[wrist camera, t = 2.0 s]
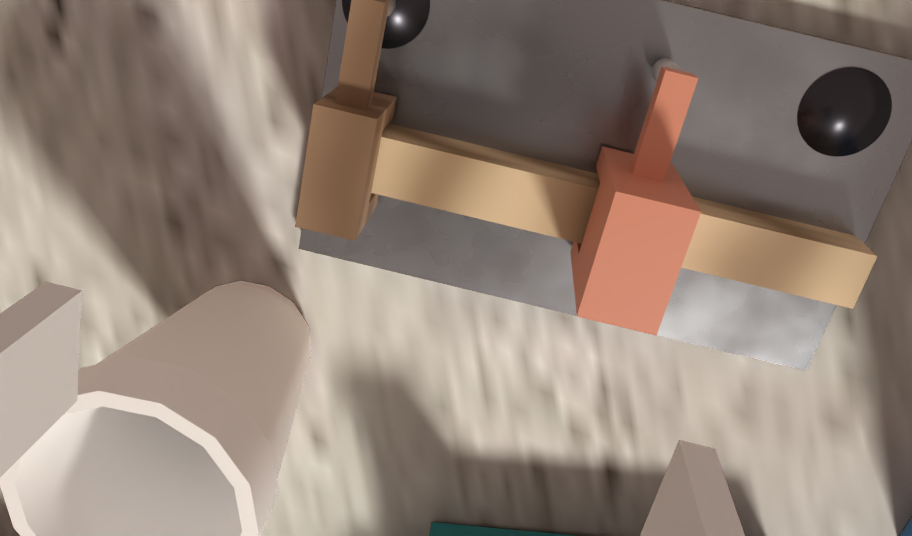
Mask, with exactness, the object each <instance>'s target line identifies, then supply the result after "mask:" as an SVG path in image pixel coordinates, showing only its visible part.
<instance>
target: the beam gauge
mask: <svg viewBox="0 0 912 536" xmlns="http://www.w3.org/2000/svg"><path fill="white" fill-rule="evenodd" d="M395 8H396V0H351V6H350V12H349V19H348V25H347V31H346V38H345V44H344V50H343V56H342V63H341V69H340V75H339V82H338V87H336V88H335V89H333V90H332V91H331V92H329V93H328V94H326V95H325V96H324V97H322V98H321V99H320V100H318V101H317V102H315V103H314V104H313V110H312V117H311V123H310V130H309V137H308V144H307V150H306V157H305V164H304V171H303V177H302V184H301V191H300V198H299V205H298V211H297V218H296V225H295V227H299V228H303V229H307V230H312V231H316V232H320V233H324V234H328V235H332V236H337V237H341V238H345V239H349V240H353V241H355V240H356V239H357V237H358V235H359V234H360V232H361V230H362V229H363V227H364V225H365V224H366V222H367V221H368V219H369V217H370V216H371V214H372V212H373V211H374V209H375V208H376V206H377V201H378V196H379V195H382V196H386V197H391V198H395V199H399V200H403V201H407V202H411V203H415V204H420V205H424V206H428V207H432V208H436V209H440V210H444V211H449V212H453V213H457V214H461V215H465V216H469V217H474V218H478V219H482V220H486V221H490V222H494V223H498V224H503V225H507V226H511V227H515V228H519V229H523V230H527V231H532V232H536V233H540V234H544V235H548V236H552V237H557V238H561V239H565V240H569V241H573V242H577V243H581V244H582V241H583V238H584V235H585V232H586V228H587V225H588V222H589V218H590V215H591V212H592V209H593V205H594V202H595V199H596V195H597V192H598V189H599V185H600V181H599V177H598V174H597V173H593V172H589V171H584V170H580V169H576V168H572V167H568V166H564V165H560V164H555V163H551V162H547V161H543V160H539V159H535V158H530V157H526V156H522V155H518V154H514V153H510V152H505V151H501V150H497V149H493V148H489V147H485V146H481V145H476V144H472V143H468V142H464V141H460V140H456V139H451V138H447V137H443V136H439V135H435V134H431V133H426V132H422V131H418V130H414V129H410V128H406V127H402V126H397V125H393V124H389V123H390V121H391V120H392V119H393V117H394V111H395V106H396V101H397V97H395V96H391V95H386V94H382V93H378V92H374V87H375V81H376V76H377V70H378V64H379V59H380V53H381V47H382V42H383V36H384V30H385V25H386V19H387V16H389V15H391V14H392V13H393V12H394V10H395ZM692 197H693V196H692ZM693 199H694V201H695V202H696V204H697V206H698V207H699V209H700V211H701V214H700V217H699V220H698V222H697V225H696V228H695V231H694V233H693V236H692V239H691V242H690V244H689V247H688V250H687V253H686V255H685V258H684V261H683V264H682V267H681V268H685V269H689V270H693V271H698V272H702V273H706V274H710V275H714V276H718V277H723V278H727V279H731V280H735V281H739V282H743V283H747V284H752V285H756V286H760V287H764V288H768V289H772V290H776V291H781V292H785V293H789V294H793V295H797V296H801V297H806V298H810V299H814V300H818V301H822V302H826V303H830V304H835V305H839V306H843V307H847V308H851V309H853V308H854V306H855V304H856V302H857V299H858V297H859V295H860V293H861V291H862V289H863V287H864V284H865V282H866V280H867V278H868V276H869V274H870V272H871V269H872V267H873V265H874V263H875V261H876V259H877V257H878V256H877V255H876V254H875V253H874V252H873V251H871V250H870V249H869V248H868V247H867V246H866V245H865V244H864V243H863V242H862V241H861V240H860V239H859V238H858V237H856V236H855V235H851V234H846V233H842V232H838V231H834V230H830V229H826V228H821V227H817V226H813V225H809V224H805V223H801V222H796V221H792V220H788V219H784V218H780V217H776V216H772V215H767V214H763V213H759V212H755V211H751V210H747V209H742V208H738V207H734V206H730V205H726V204H722V203H717V202H713V201H709V200H705V199H701V198H697V197H693Z"/></svg>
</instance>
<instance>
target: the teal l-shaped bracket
mask: <svg viewBox="0 0 912 536" xmlns="http://www.w3.org/2000/svg"><path fill="white" fill-rule="evenodd" d="M429 536H575V535H564V534H554V533H543V532H532V531H521V530H511V529H500V528H489V527H479V526H468V525H457V524H447V523H436V522H432V523H431V529H430V535H429Z"/></svg>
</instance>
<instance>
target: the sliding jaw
mask: <svg viewBox="0 0 912 536" xmlns="http://www.w3.org/2000/svg"><path fill="white" fill-rule="evenodd" d="M652 76H653V78H654V80H655V81H656V82H657V83H656V86H655V89H654V92H653V95H652V98H651V102H650V105H649V108H648V111H647V114H646V117H645V121H644V124H643V127H642V130H641V133H640V136H639V140H638V143H637V146H636V149H635V152H634V154H632V153H628V152H624V151H619V150H615V149H611V148H607V147H603V146H602V148H601V152H600V155H599V158H598V162H597V165H596V169H597V173H598V177H599V181H600V185H599V189H598V192H597V195H596V199H595V202H594V205H593V209H592V212H591V215H590V218H589V222H588V225H587V228H586V232H585V235H584V238H583V241H582V244H581V243H577V242H573V245H572V248H571V252H570V254H571V264H572V274H573V284H574V293H575V303H576V313H577V316H578V317H582V318H586V319H590V320H595V321H599V322H603V323H607V324H611V325H615V326H619V327H624V328H628V329H632V330H636V331H640V332H644V333H648V334H653V335H657V333H658V330H659V327H660V324H661V322H662V319H663V316H664V313H665V311H666V308H667V305H668V302H669V300H670V297H671V294H672V291H673V289H674V286H675V283H676V280H677V278H678V275H679V272H680V269H681V267H682V264H683V261H684V258H685V255H686V253H687V250H688V247H689V244H690V242H691V239H692V236H693V233H694V231H695V228H696V225H697V222H698V220H699V217H700V214H701V211H700V209H699V207H698V206H697V204H696V202H695V201H694V199H693V197H692V196H691V194H690V192H689V191H688V189H687V187H686V186H685V184H684V182H683V181H682V179H681V177H680V176H679V174H678V172H677V171H676V169H675V167H674V166H673V164H672V163H670V161H671V158H672V155H673V152H674V149H675V146H676V143H677V140H678V137H679V134H680V132H681V129H682V126H683V123H684V120H685V117H686V114H687V111H688V108H689V105H690V102H691V99H692V96H693V93H694V90H695V87H696V84H697V81H698V77H696V76H695V75H694V74H692V73H688V72H685V71H684V70H683V69H682V68H681V67H680V66H679V65H677V64H676V63H675V62H674V61H673V60H671V59H669V58H663V59H660V60H658V61H657V62H656V63H655V64H654V66H653V68H652Z"/></svg>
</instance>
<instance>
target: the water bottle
mask: <svg viewBox="0 0 912 536" xmlns="http://www.w3.org/2000/svg"><path fill="white" fill-rule="evenodd" d="M900 536H912V518H911V519H910V521H909V522H908V524H907V525H906V527H905V528H904V530H903V531H902V533H901V534H900Z"/></svg>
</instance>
